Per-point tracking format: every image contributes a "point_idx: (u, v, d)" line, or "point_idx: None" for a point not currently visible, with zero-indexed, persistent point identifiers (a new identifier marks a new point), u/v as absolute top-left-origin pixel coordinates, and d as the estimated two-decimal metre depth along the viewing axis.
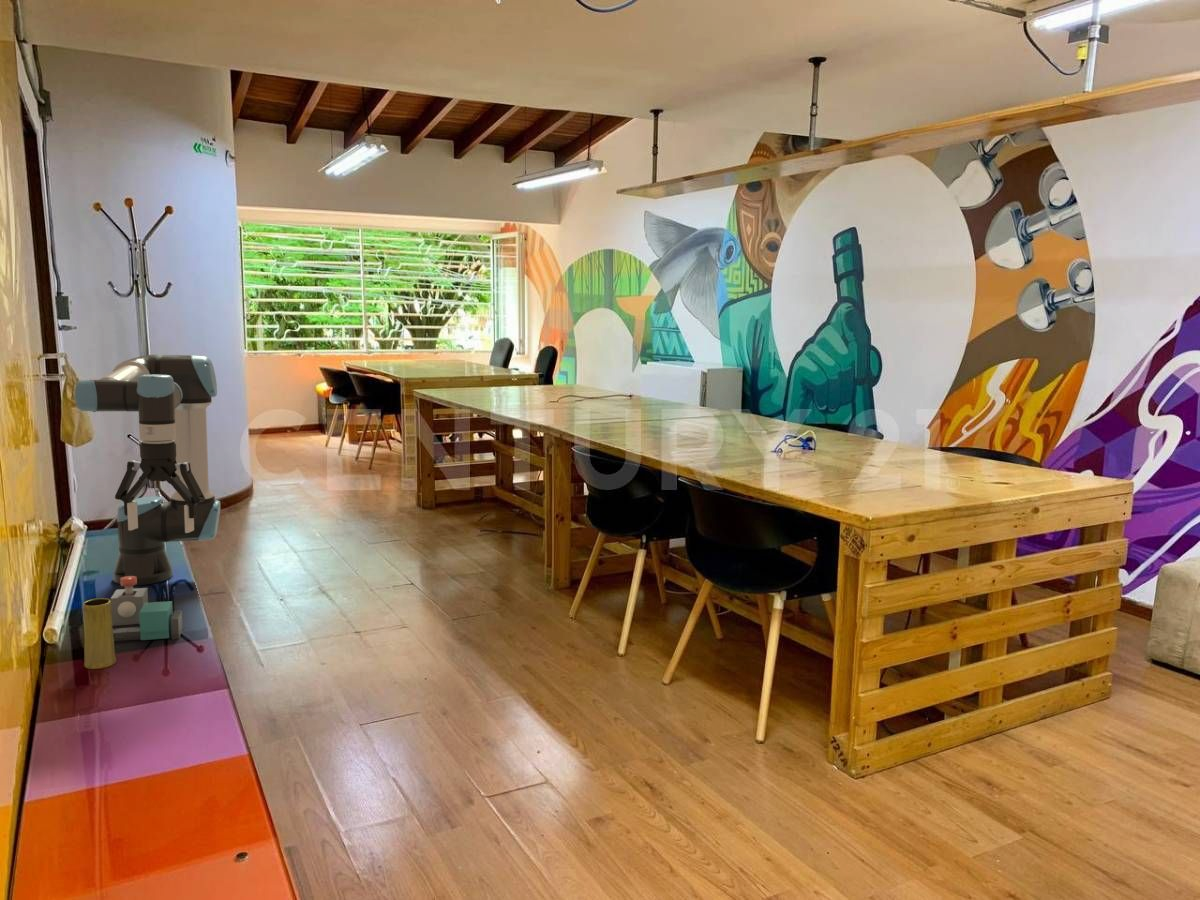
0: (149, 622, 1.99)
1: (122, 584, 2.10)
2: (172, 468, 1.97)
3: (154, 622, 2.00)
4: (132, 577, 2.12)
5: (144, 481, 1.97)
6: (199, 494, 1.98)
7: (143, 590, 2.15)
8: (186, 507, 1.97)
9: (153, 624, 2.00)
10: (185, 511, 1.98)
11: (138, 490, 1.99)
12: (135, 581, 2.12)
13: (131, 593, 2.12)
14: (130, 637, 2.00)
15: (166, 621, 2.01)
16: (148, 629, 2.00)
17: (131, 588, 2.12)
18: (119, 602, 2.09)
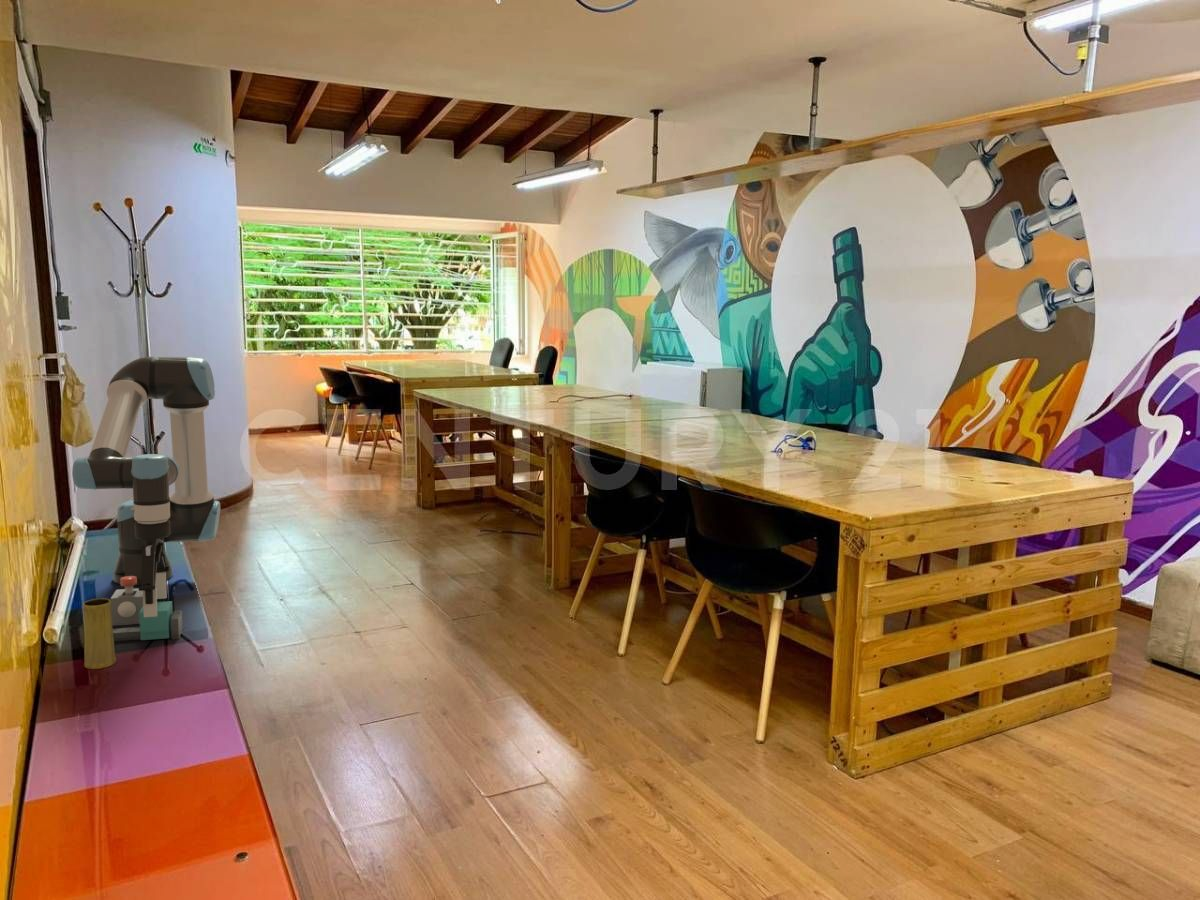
0: (149, 622, 1.99)
1: (122, 584, 2.10)
2: None
3: (154, 622, 2.00)
4: (132, 577, 2.12)
5: None
6: (145, 582, 1.92)
7: None
8: (143, 591, 1.94)
9: (153, 624, 2.00)
10: (143, 595, 1.95)
11: (157, 563, 2.06)
12: (135, 581, 2.12)
13: (131, 593, 2.12)
14: (130, 637, 2.00)
15: (166, 621, 2.01)
16: (148, 629, 2.00)
17: (131, 588, 2.12)
18: (119, 602, 2.09)
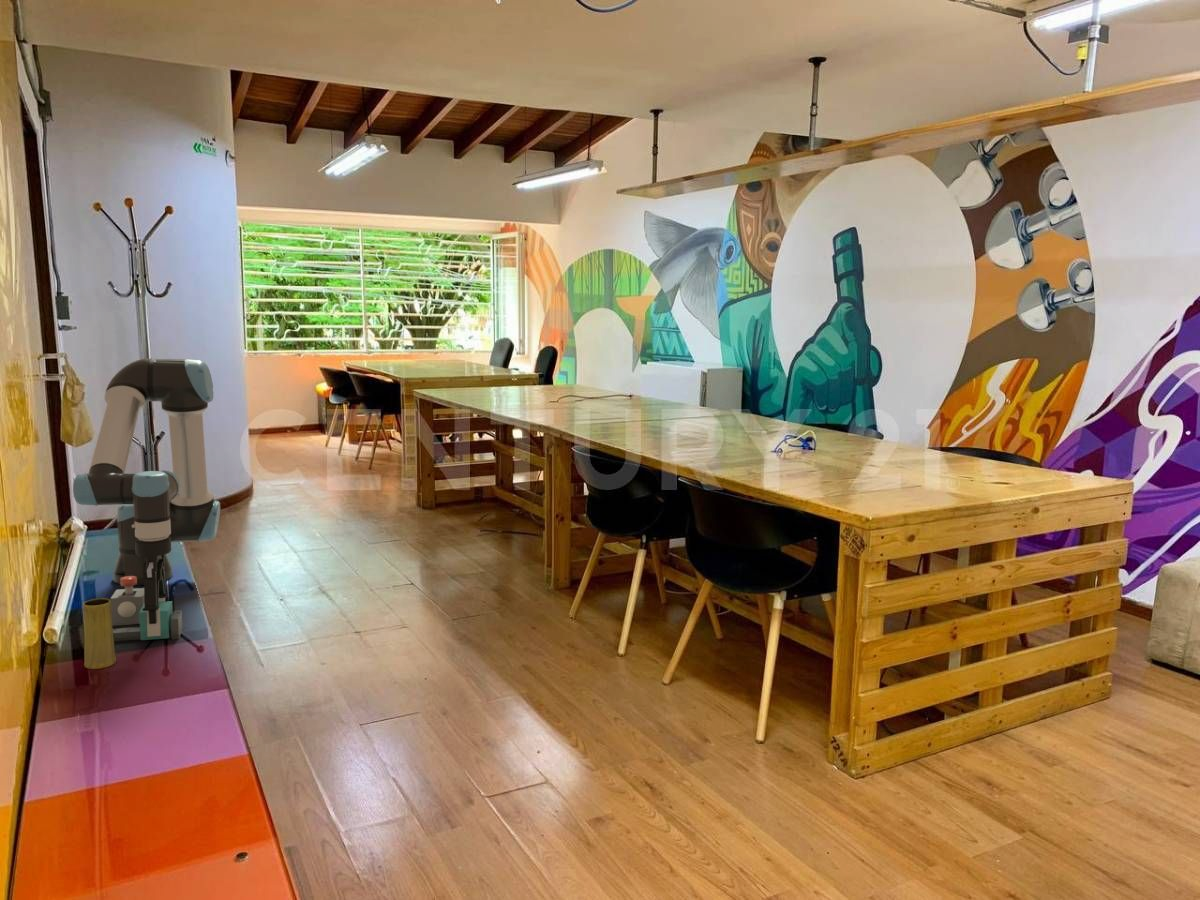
0: None
1: (122, 584, 2.10)
2: (146, 567, 1.97)
3: None
4: (132, 577, 2.12)
5: None
6: (149, 603, 1.95)
7: (143, 590, 2.15)
8: None
9: None
10: None
11: None
12: (135, 581, 2.12)
13: (131, 593, 2.12)
14: (130, 637, 2.00)
15: (166, 621, 2.01)
16: None
17: (131, 588, 2.12)
18: (119, 602, 2.09)
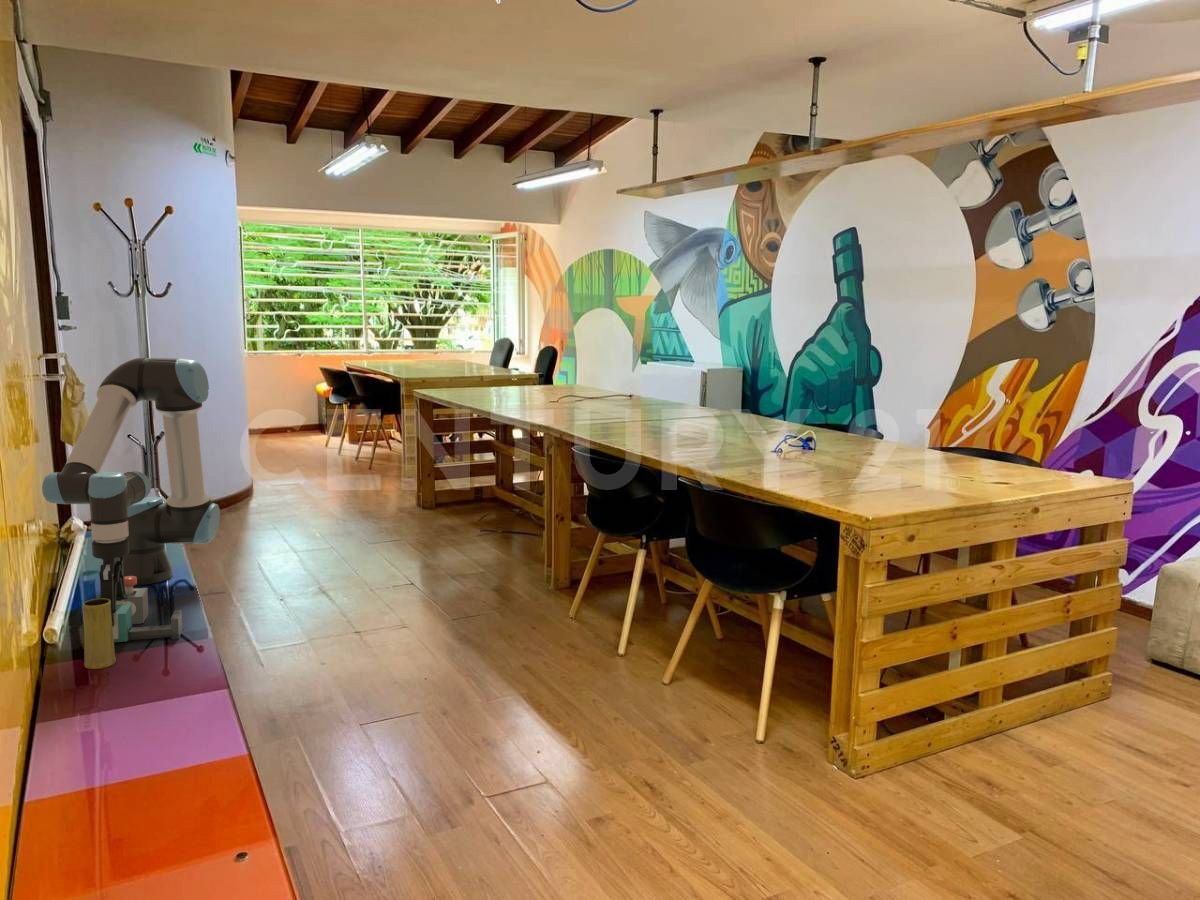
0: None
1: None
2: (103, 569, 1.94)
3: None
4: (132, 577, 2.12)
5: None
6: None
7: (143, 590, 2.15)
8: None
9: None
10: None
11: (115, 587, 2.02)
12: (135, 581, 2.12)
13: (131, 593, 2.12)
14: (130, 637, 2.00)
15: (124, 624, 1.98)
16: None
17: (131, 588, 2.12)
18: None
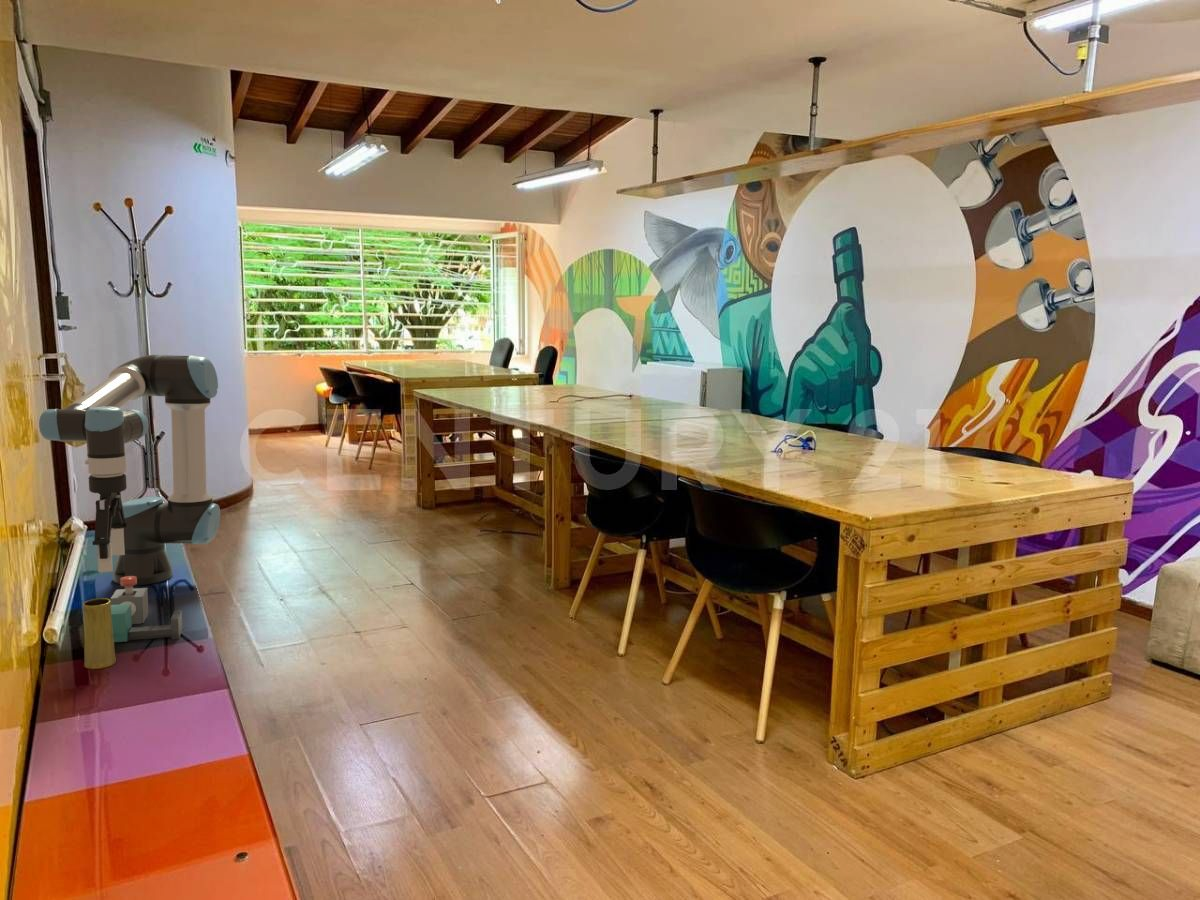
0: None
1: (122, 584, 2.10)
2: None
3: None
4: (132, 577, 2.12)
5: None
6: (99, 536, 1.88)
7: (143, 590, 2.15)
8: (97, 546, 1.91)
9: None
10: None
11: (114, 518, 2.02)
12: (135, 581, 2.12)
13: (131, 593, 2.12)
14: (130, 637, 2.00)
15: (124, 624, 1.98)
16: None
17: (131, 588, 2.12)
18: (119, 602, 2.09)
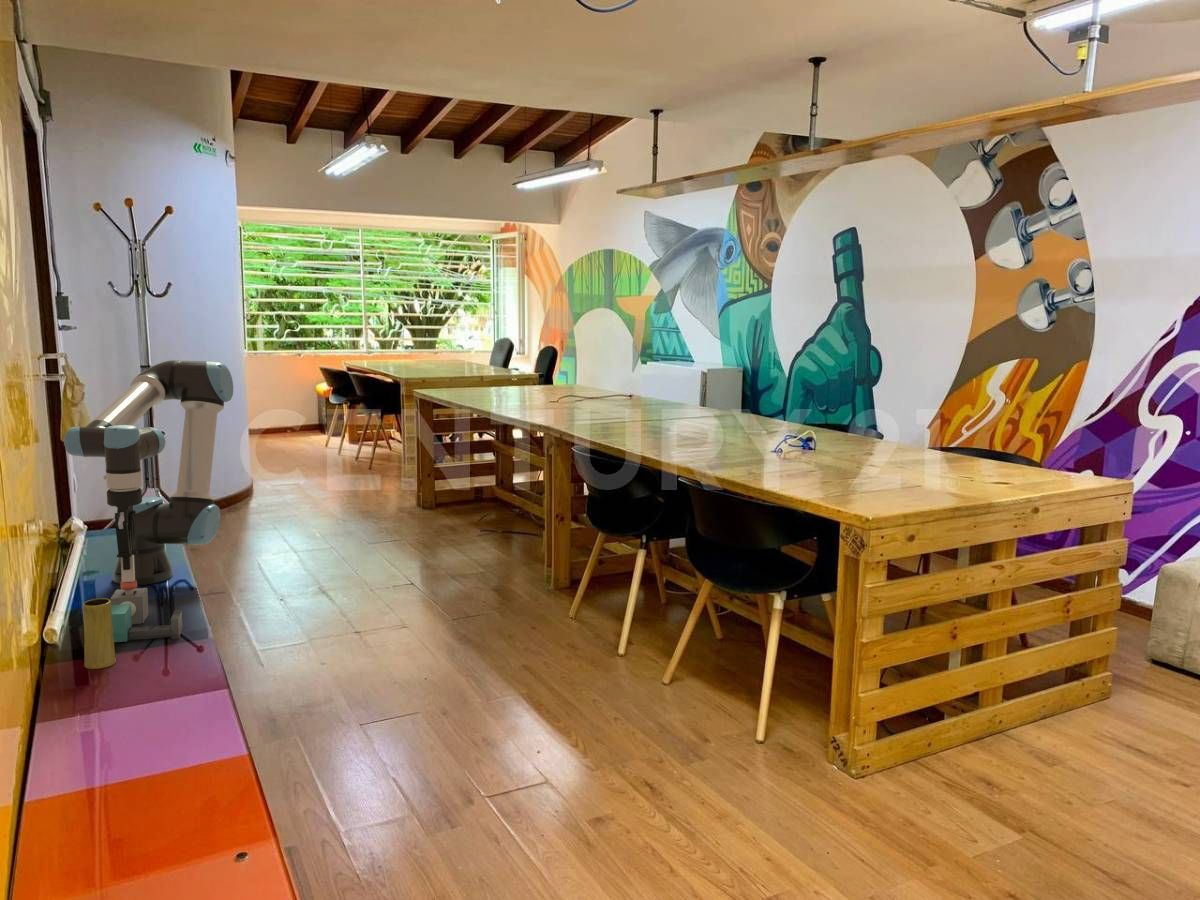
0: None
1: (122, 588, 2.10)
2: (117, 517, 2.06)
3: None
4: None
5: None
6: (122, 551, 2.07)
7: (143, 590, 2.15)
8: (120, 558, 2.10)
9: None
10: (121, 561, 2.10)
11: None
12: (135, 585, 2.12)
13: None
14: (130, 637, 2.00)
15: (124, 624, 1.98)
16: None
17: (131, 592, 2.12)
18: (119, 602, 2.09)
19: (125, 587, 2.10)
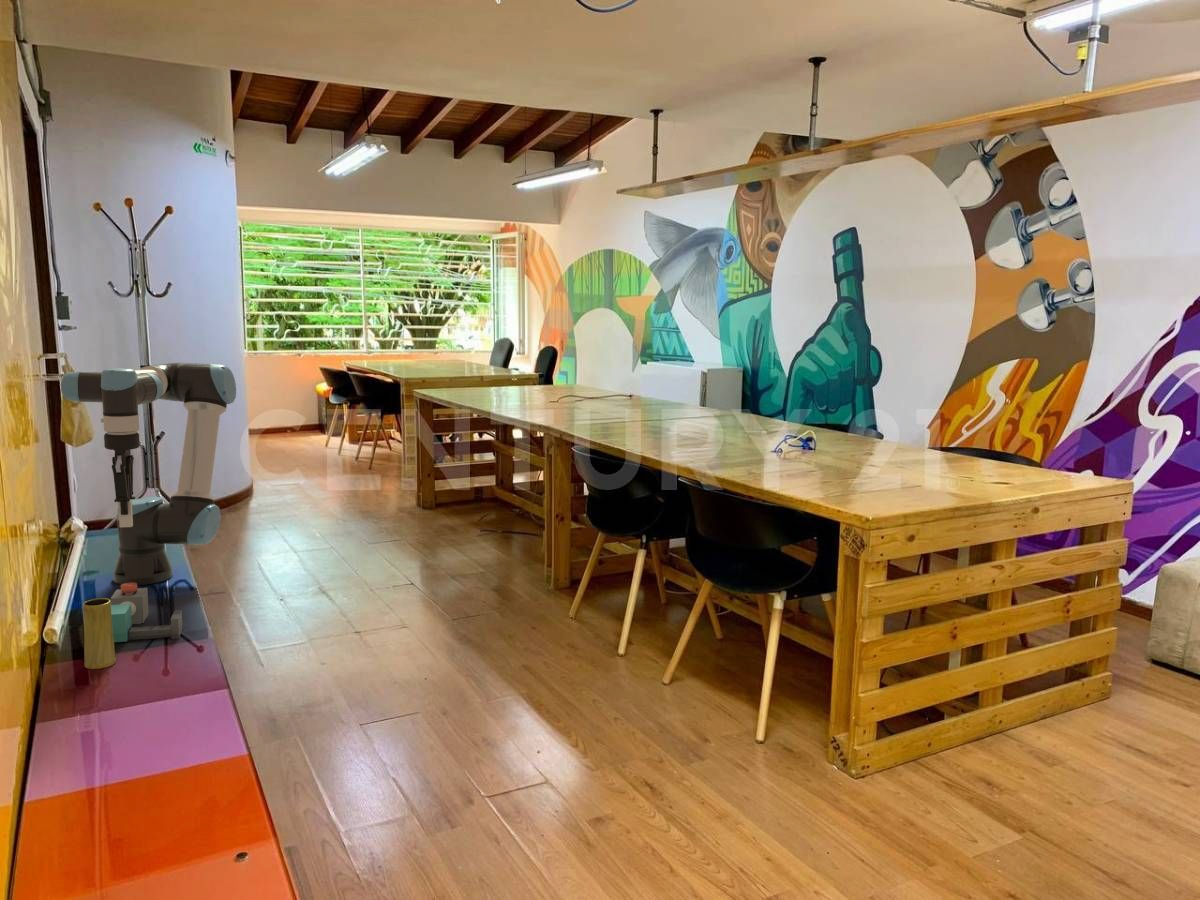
0: None
1: (122, 591, 2.10)
2: (115, 461, 2.03)
3: None
4: (132, 584, 2.12)
5: None
6: (120, 495, 2.05)
7: (143, 590, 2.15)
8: None
9: None
10: None
11: None
12: (135, 588, 2.12)
13: None
14: (130, 637, 2.00)
15: (124, 624, 1.98)
16: None
17: None
18: (119, 602, 2.09)
19: (125, 590, 2.10)
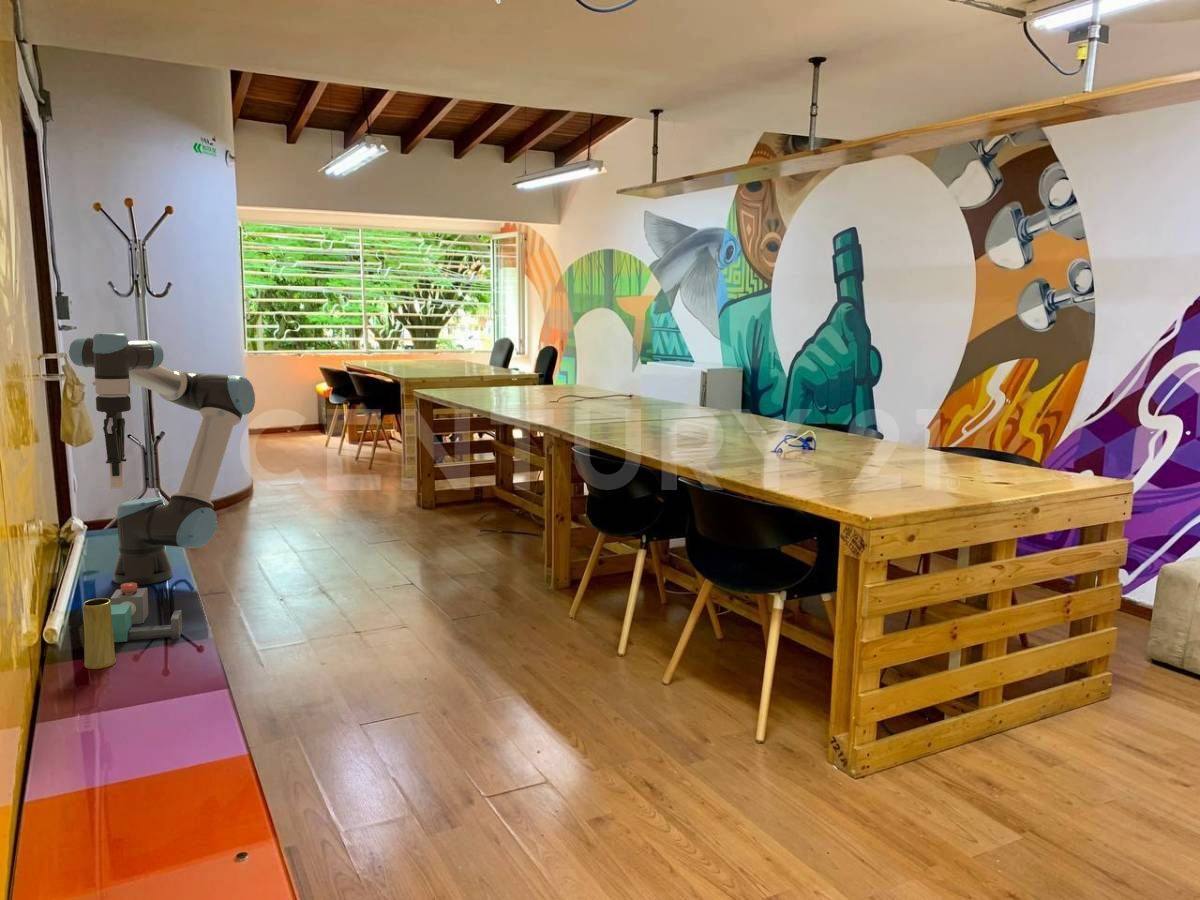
0: None
1: (122, 591, 2.10)
2: (106, 422, 2.09)
3: None
4: (132, 584, 2.12)
5: None
6: (111, 456, 2.10)
7: (143, 590, 2.15)
8: (110, 464, 2.13)
9: None
10: (110, 468, 2.13)
11: None
12: (135, 588, 2.12)
13: None
14: (130, 637, 2.00)
15: (124, 624, 1.98)
16: None
17: None
18: (119, 602, 2.09)
19: (125, 590, 2.10)
